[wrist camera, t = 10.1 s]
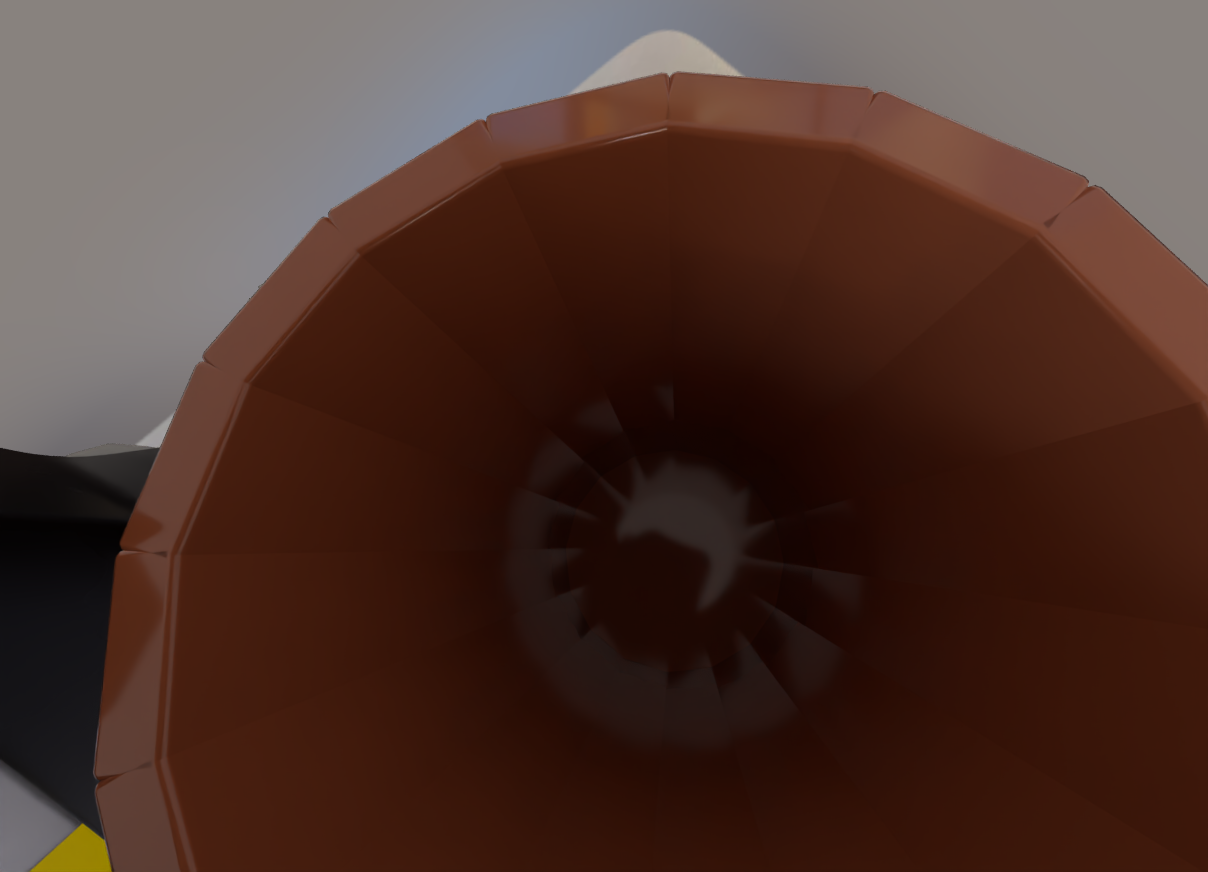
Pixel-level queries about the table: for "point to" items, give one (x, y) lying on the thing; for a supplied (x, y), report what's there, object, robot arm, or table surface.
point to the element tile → (77, 854)
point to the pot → (681, 515)
